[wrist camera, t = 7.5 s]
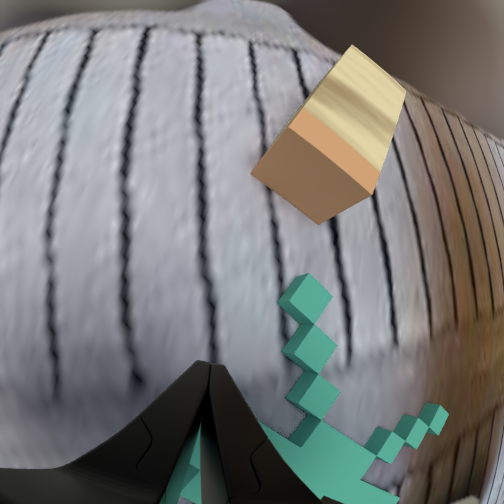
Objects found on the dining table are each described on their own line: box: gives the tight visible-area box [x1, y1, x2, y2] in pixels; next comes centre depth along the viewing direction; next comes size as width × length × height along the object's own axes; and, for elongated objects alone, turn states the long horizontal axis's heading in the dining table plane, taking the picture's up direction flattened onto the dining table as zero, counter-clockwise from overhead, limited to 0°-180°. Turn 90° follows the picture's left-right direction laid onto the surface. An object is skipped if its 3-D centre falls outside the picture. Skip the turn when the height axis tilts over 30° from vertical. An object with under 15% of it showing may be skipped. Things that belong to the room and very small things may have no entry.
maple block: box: [251, 45, 406, 225], centre depth 21 cm, size 6×6×13 cm
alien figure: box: [180, 273, 449, 504], centre depth 17 cm, size 20×2×20 cm
